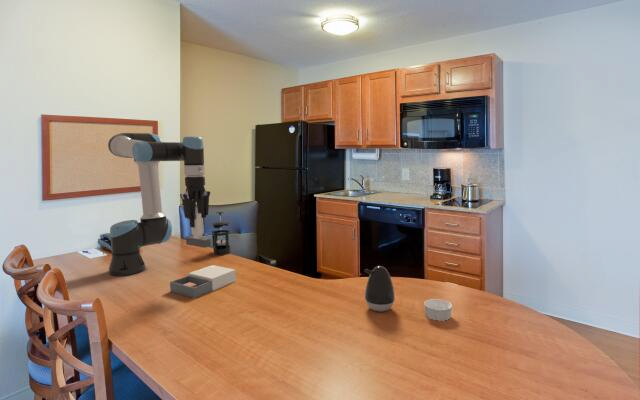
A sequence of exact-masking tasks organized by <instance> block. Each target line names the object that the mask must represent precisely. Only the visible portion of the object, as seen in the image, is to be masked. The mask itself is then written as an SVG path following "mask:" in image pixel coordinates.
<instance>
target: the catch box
mask: <svg viewBox="0 0 640 400" xmlns="http://www.w3.org/2000/svg"><path fill="white" fill-rule="evenodd" d="M189 282H190V283H194V284H197V287H190V286H186V285H183V284H186V283H189ZM169 285H170V286H169V287H170V289H169V290H170V293H174V294H178V295H182V296H183V297H188V298H191V299H197V298H199V297H201V296H203V295H206V294H208V293H212V292H213V291H212V281H208V280H204V279H200V278H196V277H192V276H189V275H186V276H183V277H180V278H177V279H175V280H172V281H170V282H169Z"/></svg>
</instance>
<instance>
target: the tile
mask: <svg viewBox="0 0 640 400" xmlns="http://www.w3.org/2000/svg"><path fill="white" fill-rule="evenodd" d="M183 285H186V286H190V287H197V284H194V283H190V282H189V283H186V284H183Z"/></svg>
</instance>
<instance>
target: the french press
mask: <svg viewBox="0 0 640 400" xmlns="http://www.w3.org/2000/svg"><path fill="white" fill-rule="evenodd" d="M216 214H219V221H214V222H212V226H213V227H212V228H213V229H217V230H213V231H211V235H212V236H211V237H212V239H211V240H212V247H213V252H212V254H213V255H214V254H215V256H225V255H226V256H227V255H229V254H231V253H232V251H231V246H230V244H229V243H230V240H229V235H230V230H228V229H222V227H224V226H227V227H229V224H230V222H229V221H222V219H221V218H222V217H221V216H222V214H224V211H217V212H216ZM219 236H220V239H218V237H219ZM222 236H224V237H225V239H222V238H223V237H222Z"/></svg>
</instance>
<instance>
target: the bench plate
mask: <svg viewBox="0 0 640 400" xmlns="http://www.w3.org/2000/svg"><path fill="white" fill-rule="evenodd" d="M236 274H237V273H236V269H234V268H229V267H224V266H218V265H216V264H215V265H213V264H212V265H208V266H205V267H203V268H201V269H200V268H199V269H197V270H194V271H191V272H188V276H192V277H196V278H200V279H204V280H208V281H212V291H211V292H213V291H216V290H218V289H220V288H223V287H225V286H228V285H230V284H232V283H235V282H236V281H237V277H236Z"/></svg>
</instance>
